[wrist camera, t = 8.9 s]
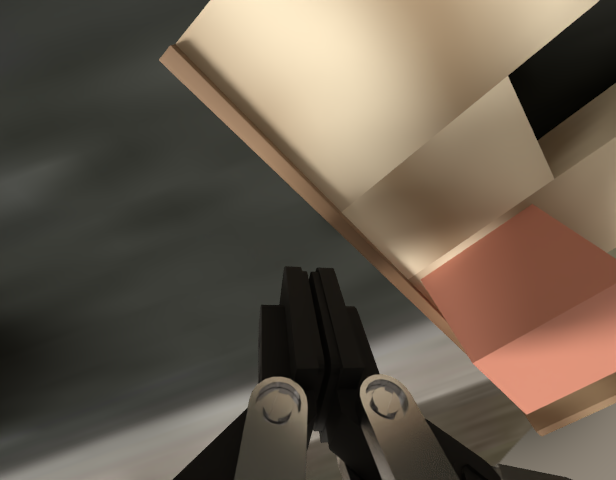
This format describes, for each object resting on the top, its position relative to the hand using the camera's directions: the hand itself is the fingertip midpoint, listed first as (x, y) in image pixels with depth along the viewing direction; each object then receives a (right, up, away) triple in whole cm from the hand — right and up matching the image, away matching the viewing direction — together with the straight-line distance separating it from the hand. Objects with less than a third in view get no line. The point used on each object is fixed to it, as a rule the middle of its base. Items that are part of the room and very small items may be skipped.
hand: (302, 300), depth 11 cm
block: (+9, 0, +4) cm, 10 cm away
